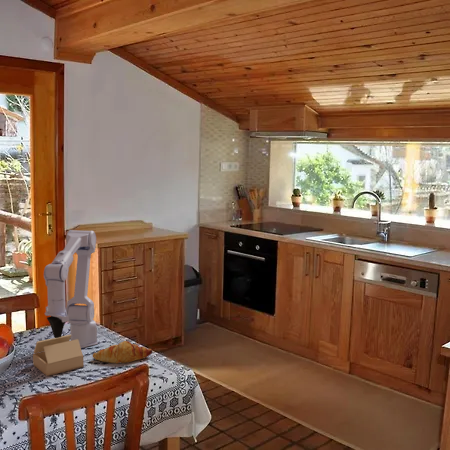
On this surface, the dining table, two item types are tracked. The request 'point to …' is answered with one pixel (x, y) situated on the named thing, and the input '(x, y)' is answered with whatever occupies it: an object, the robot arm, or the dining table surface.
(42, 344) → the flap
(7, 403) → the dining table surface
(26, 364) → the dining table surface
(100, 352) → the croissant
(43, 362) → the carton
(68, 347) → the flap
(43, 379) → the dining table surface
